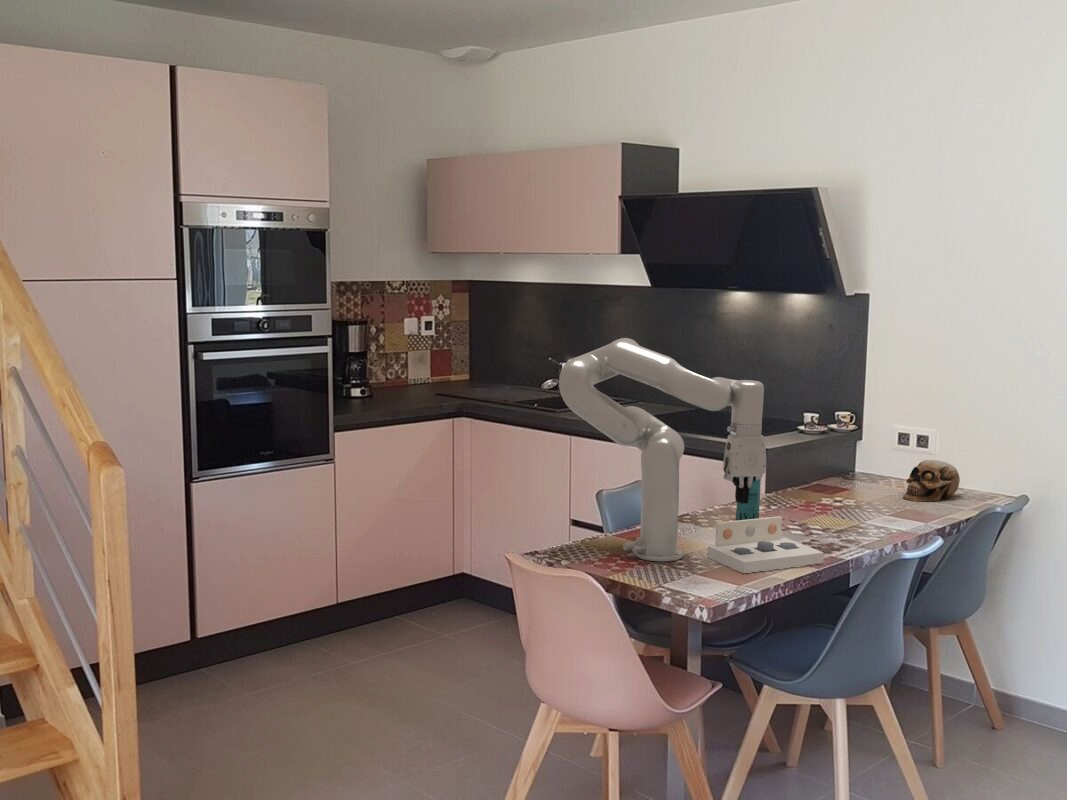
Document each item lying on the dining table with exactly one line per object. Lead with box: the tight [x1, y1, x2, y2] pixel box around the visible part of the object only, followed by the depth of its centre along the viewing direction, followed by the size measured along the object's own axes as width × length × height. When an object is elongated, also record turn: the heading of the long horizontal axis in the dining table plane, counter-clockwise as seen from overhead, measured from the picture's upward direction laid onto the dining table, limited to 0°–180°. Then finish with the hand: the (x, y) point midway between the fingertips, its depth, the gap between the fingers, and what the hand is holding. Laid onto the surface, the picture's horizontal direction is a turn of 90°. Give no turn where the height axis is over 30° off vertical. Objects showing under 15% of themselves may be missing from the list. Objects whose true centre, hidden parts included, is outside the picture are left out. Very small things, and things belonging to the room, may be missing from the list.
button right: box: [780, 542, 796, 550], centre depth 275 cm, size 4×4×3 cm
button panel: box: [706, 515, 825, 574], centre depth 272 cm, size 24×16×9 cm, turn 114°
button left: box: [734, 548, 751, 555], centre depth 270 cm, size 4×4×3 cm
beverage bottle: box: [734, 478, 762, 521], centre depth 300 cm, size 6×7×20 cm
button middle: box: [757, 541, 774, 552], centre depth 272 cm, size 4×4×3 cm
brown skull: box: [902, 459, 961, 503], centre depth 350 cm, size 16×17×13 cm
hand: (741, 502), depth 269 cm, fingers closed
